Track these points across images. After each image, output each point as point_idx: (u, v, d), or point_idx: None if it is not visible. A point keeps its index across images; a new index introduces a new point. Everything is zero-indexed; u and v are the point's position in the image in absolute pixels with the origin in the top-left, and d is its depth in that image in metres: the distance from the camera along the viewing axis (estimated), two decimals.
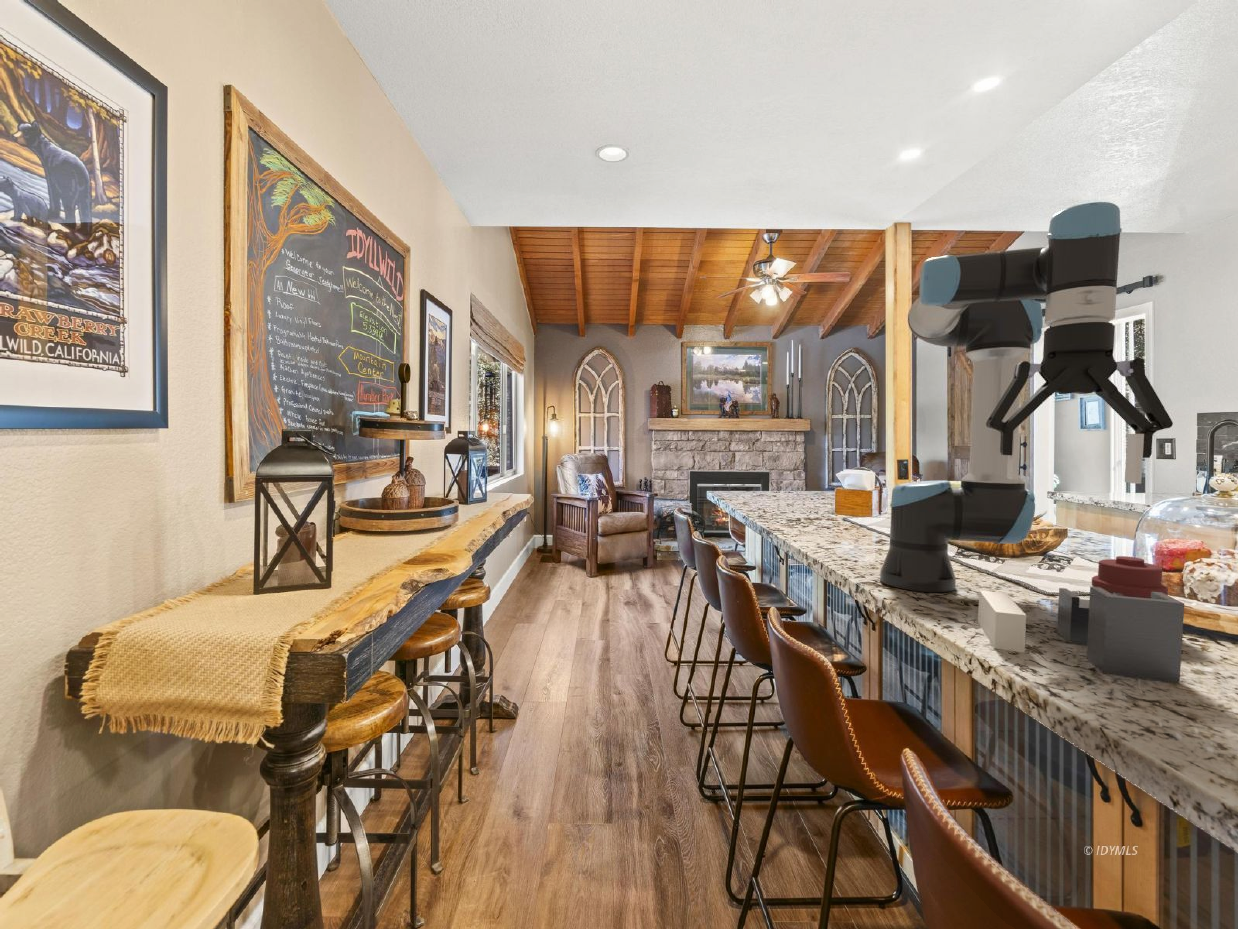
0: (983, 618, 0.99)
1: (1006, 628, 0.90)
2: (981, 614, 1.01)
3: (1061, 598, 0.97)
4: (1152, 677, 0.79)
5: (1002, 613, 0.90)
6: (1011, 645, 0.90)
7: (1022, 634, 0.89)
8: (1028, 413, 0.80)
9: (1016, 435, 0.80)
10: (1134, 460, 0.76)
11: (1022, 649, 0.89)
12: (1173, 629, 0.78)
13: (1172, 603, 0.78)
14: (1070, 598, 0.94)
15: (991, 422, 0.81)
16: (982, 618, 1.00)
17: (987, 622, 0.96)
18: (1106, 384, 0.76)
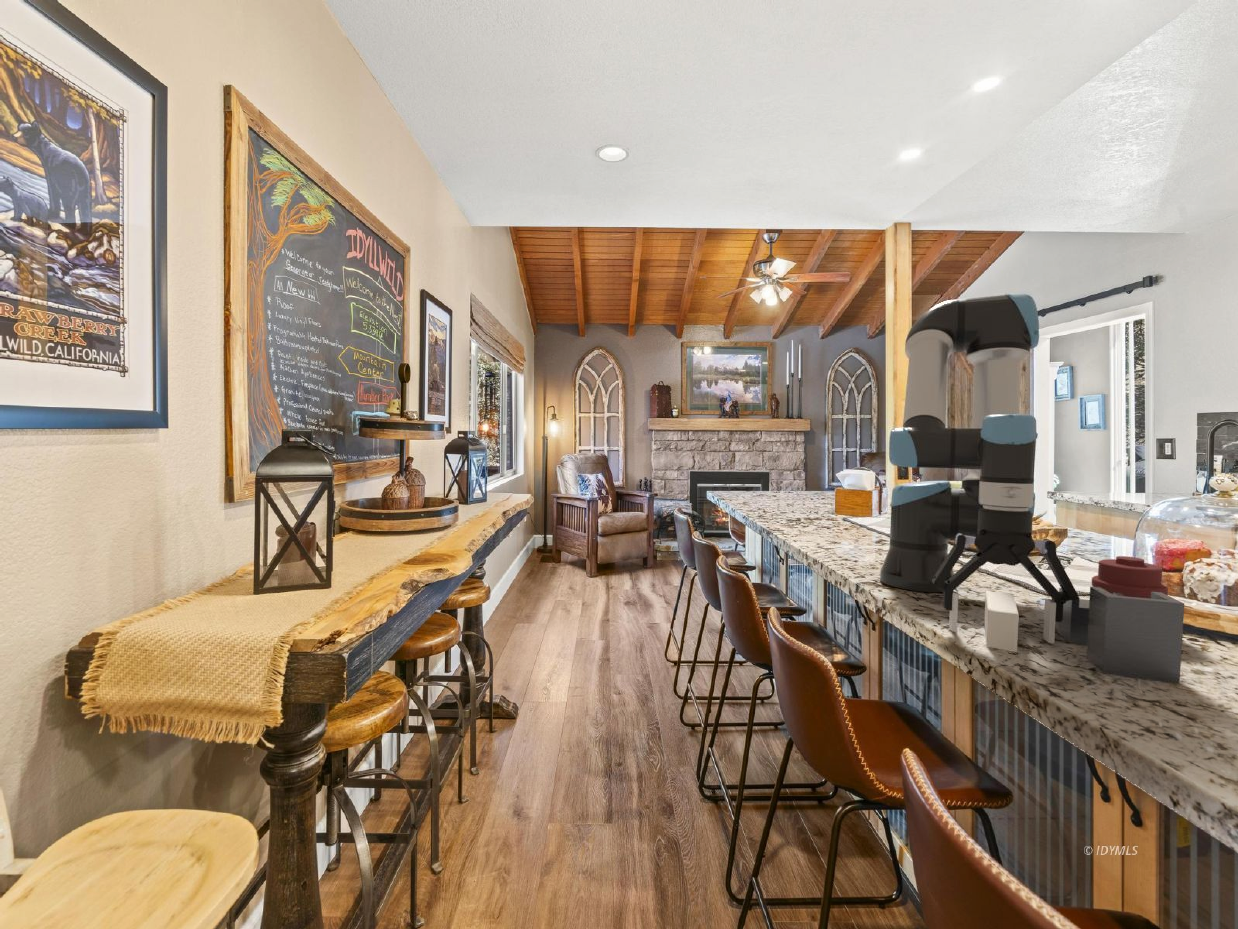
0: (985, 618, 0.99)
1: (998, 627, 0.91)
2: (985, 614, 1.01)
3: None
4: (1152, 677, 0.79)
5: (995, 612, 0.91)
6: (1004, 644, 0.90)
7: (1014, 633, 0.90)
8: (964, 578, 0.97)
9: (955, 595, 0.97)
10: (1049, 624, 0.93)
11: (1014, 648, 0.90)
12: (1173, 629, 0.78)
13: (1172, 603, 0.78)
14: None
15: (935, 582, 0.98)
16: (985, 618, 1.00)
17: None
18: (1026, 561, 0.93)
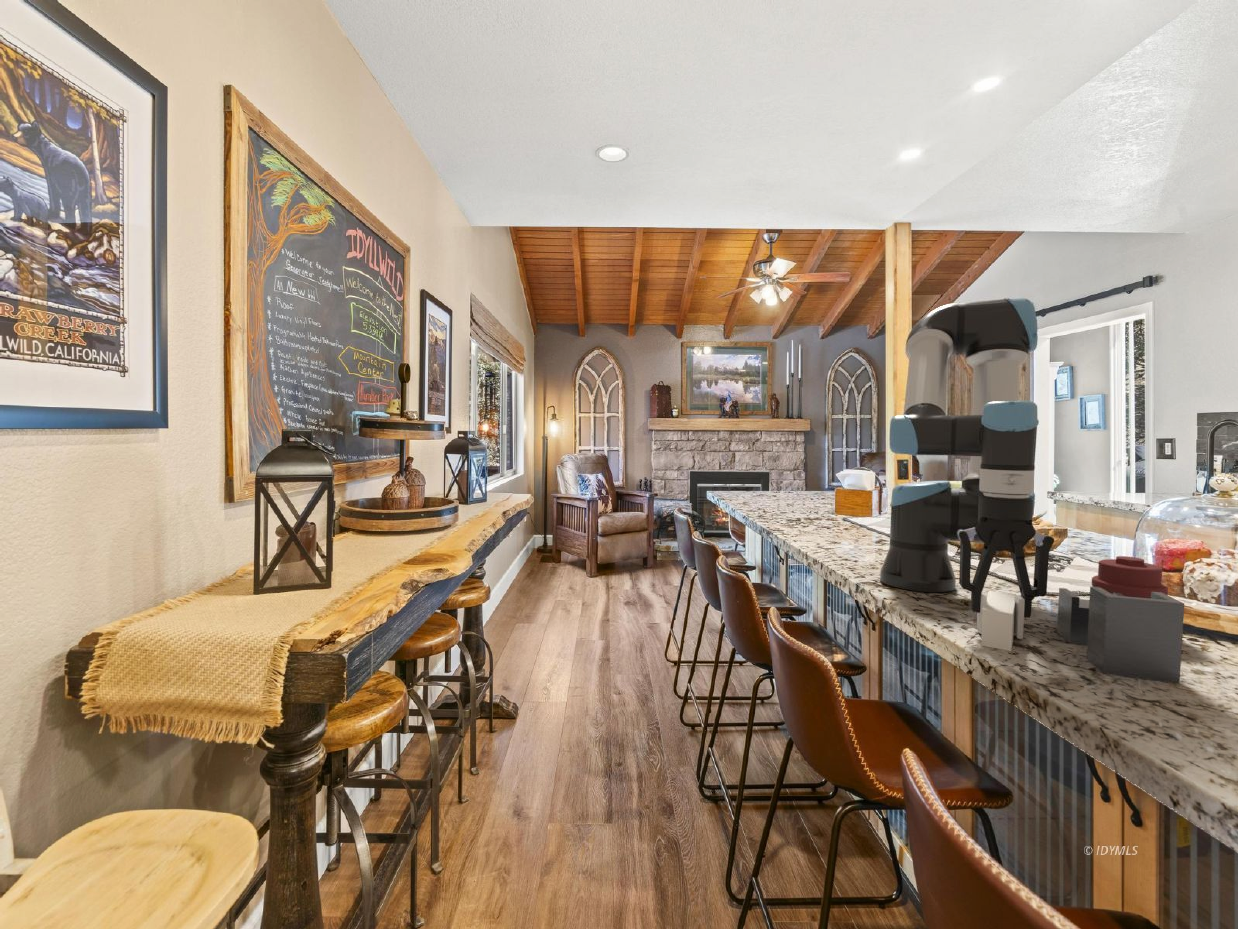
0: None
1: (993, 626, 0.91)
2: None
3: (1061, 598, 0.97)
4: (1152, 677, 0.79)
5: (989, 610, 0.91)
6: (998, 643, 0.91)
7: (1009, 632, 0.90)
8: (985, 575, 0.96)
9: (983, 597, 0.96)
10: (1018, 620, 0.95)
11: (1009, 647, 0.90)
12: (1173, 629, 0.78)
13: (1172, 603, 0.78)
14: (1070, 598, 0.94)
15: (962, 586, 0.97)
16: None
17: None
18: (1019, 550, 0.94)
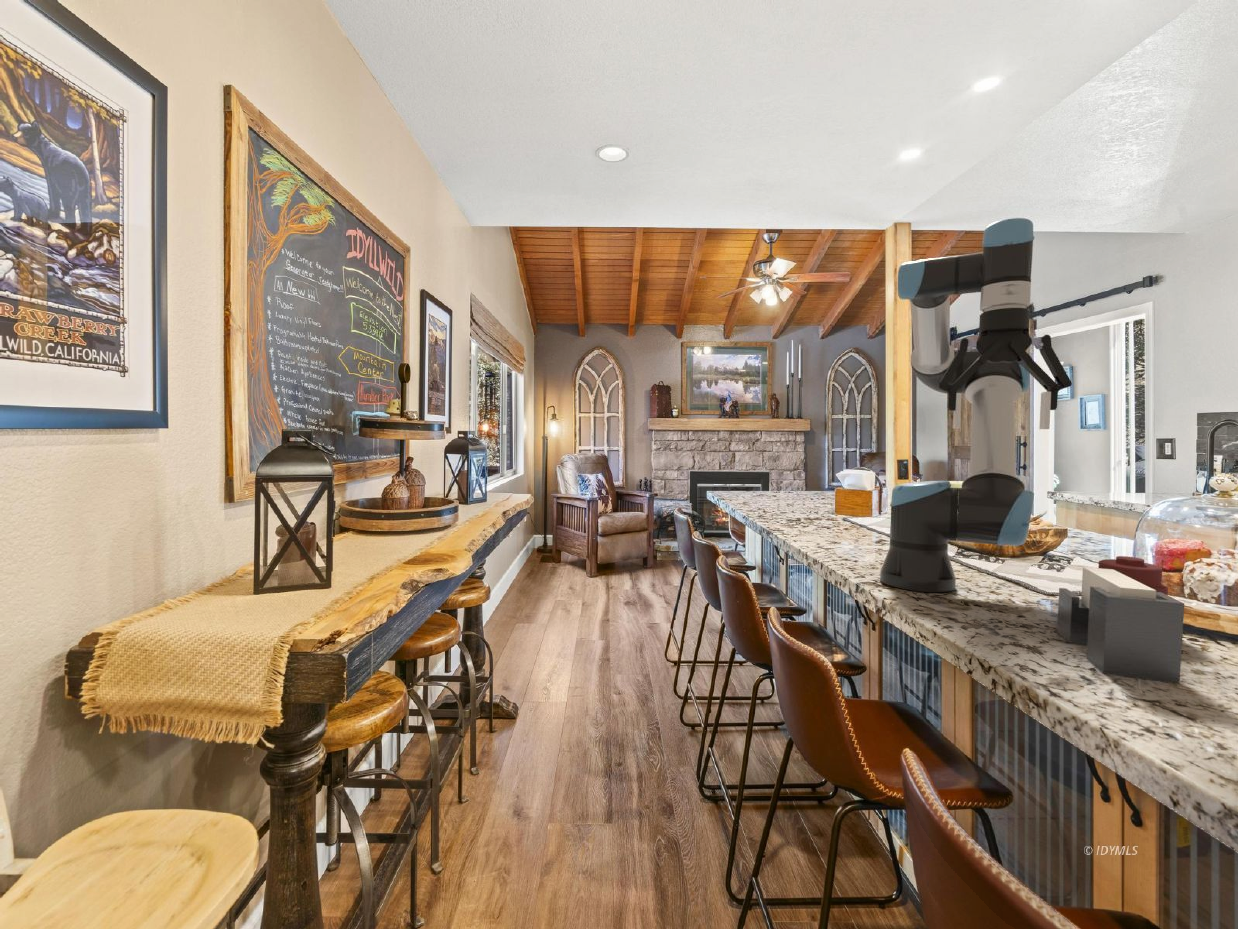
0: None
1: None
2: (1088, 592, 0.93)
3: (1061, 598, 0.97)
4: (1152, 677, 0.79)
5: (1128, 588, 0.82)
6: None
7: None
8: (967, 377, 1.05)
9: (958, 394, 1.06)
10: (1044, 412, 1.01)
11: None
12: (1173, 629, 0.78)
13: (1172, 603, 0.78)
14: (1070, 598, 0.94)
15: (940, 385, 1.07)
16: None
17: None
18: (1023, 354, 1.01)
